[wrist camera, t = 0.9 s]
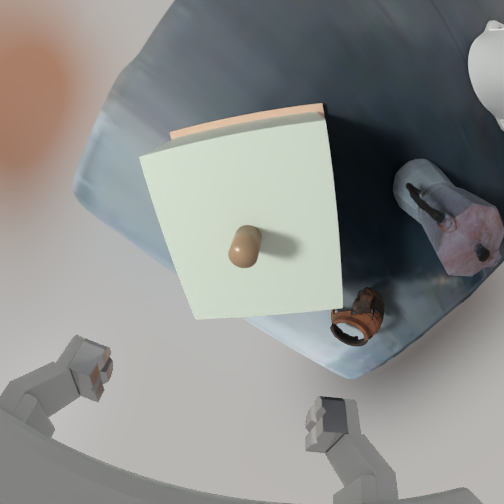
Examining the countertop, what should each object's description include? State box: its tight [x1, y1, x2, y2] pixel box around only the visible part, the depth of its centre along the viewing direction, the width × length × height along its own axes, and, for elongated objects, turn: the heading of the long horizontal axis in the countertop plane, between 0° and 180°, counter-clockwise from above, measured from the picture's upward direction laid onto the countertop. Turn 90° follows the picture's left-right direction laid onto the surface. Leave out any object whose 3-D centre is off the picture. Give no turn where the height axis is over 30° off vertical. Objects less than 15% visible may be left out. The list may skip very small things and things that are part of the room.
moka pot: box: [393, 159, 504, 276], centre depth 33 cm, size 10×15×20 cm, turn 70°
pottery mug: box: [330, 287, 384, 346], centre depth 51 cm, size 12×9×8 cm
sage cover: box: [139, 111, 343, 319], centre depth 39 cm, size 20×23×17 cm
